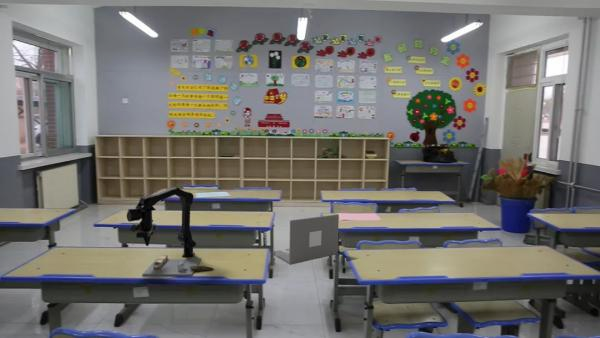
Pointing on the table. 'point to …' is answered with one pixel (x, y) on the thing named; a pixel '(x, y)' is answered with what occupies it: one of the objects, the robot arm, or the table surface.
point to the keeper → (181, 266)
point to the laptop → (311, 239)
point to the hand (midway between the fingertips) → (147, 245)
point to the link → (160, 262)
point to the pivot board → (172, 268)
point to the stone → (200, 268)
